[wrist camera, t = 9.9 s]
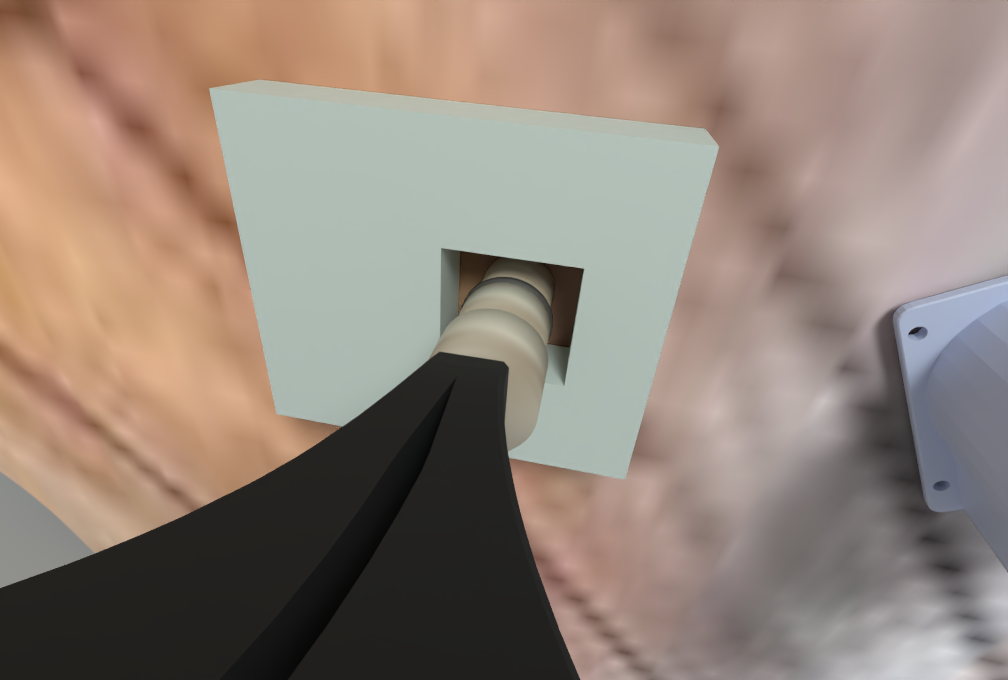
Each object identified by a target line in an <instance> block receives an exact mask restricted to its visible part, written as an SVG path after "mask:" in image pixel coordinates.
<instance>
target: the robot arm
mask: <svg viewBox="0 0 1008 680" xmlns="http://www.w3.org/2000/svg"><path fill="white" fill-rule="evenodd" d="M893 326H894V331H895V337H896V343H897V348H898V354H899V360H900V365H901V371H902V376H903V382H904V388H905V393H906V399H907V405H908V410H909V416H910V422H911V427H912V433H913V439H914V444H915V450H916V456H917V461H918V467H919V473H920V478H921V484H922V490H923V495H924V500H925V502H926V504H927V505H928V507H929V508H930V509H931V510H933V511H935V512H950V511H957V510H964V511H965V512H966V513H967V515H968V516H969V518H970V519H971V521H972V522H973V523H974V525H975V526H976V528H977V529H978V531H979V532H980V533H981V535H982V536H983V538H984V539H985V541H986V542H987V543H988V545H989V546H990V548H991V549H992V551H993V552H994V553H995V555H996V556H997V558H998V559H999V560H1000V562H1001V563H1002V565H1003V566H1004V568H1005V569H1006V570H1007V572H1008V275H1007V276H1003V277H1000V278H996V279H992V280H989V281H985V282H982V283H978V284H974V285H971V286H967V287H964V288H960V289H956V290H953V291H949V292H945V293H942V294H938V295H935V296H931V297H927V298H924V299H920V300H917V301H913V302H909V303H907V304H904V305H902V306H901V307H899V308H898V309H897V310H896V311H895V313H894V315H893ZM916 327H921V329H920V330H919V331H918V332H917V333H915V334H911V335H908V334H909V332H910V331H911V330H912V329H914V328H916ZM508 376H509V367H508V366H507V365H506V364H505V362H504V361H497V360H491V359H485V358H478V357H472V356H465V355H459V354H453V353H446V352H438V353H437V354H435V355H434V356H433V357H431V358H430V359H429V360H428V361H426V362H425V363H424V364H423V365H422V366H420V367H419V368H418V369H417V370H416V371H414V372H413V373H412V374H411V375H410V376H408V377H407V378H406V379H405V380H403V381H402V382H401V383H400V384H398V385H397V386H396V387H395V388H394V389H392V390H391V391H390V392H388V393H387V394H386V395H385V396H383V397H382V398H381V399H379V400H378V401H377V402H375V403H374V404H373V405H372V406H370V407H369V408H368V409H366V410H365V411H364V412H362V413H361V414H360V415H358V416H357V417H356V418H354V419H353V420H351V421H350V422H348V423H347V424H346V425H344V426H343V427H341V428H340V429H338V430H337V431H335V432H334V433H333V434H331V435H330V436H328V437H327V438H325V439H324V440H322V441H321V442H319V443H318V444H316V445H315V446H313V447H312V448H310V449H309V450H307V451H305V452H304V453H302V454H301V455H299V456H297V457H296V458H294V459H292V460H291V461H289V462H287V463H285V464H284V465H282V466H280V467H278V468H277V469H275V470H273V471H271V472H270V473H268V474H266V475H264V476H263V477H261V478H259V479H257V480H255V481H253V482H252V483H250V484H248V485H246V486H244V487H242V488H240V489H238V490H236V491H234V492H232V493H230V494H228V495H225V496H223V497H221V498H219V499H217V500H215V501H213V502H211V503H209V504H207V505H205V506H203V507H201V508H199V509H197V510H195V511H193V512H191V513H189V514H187V515H185V516H183V517H181V518H178V519H176V520H174V521H172V522H169V523H167V524H165V525H162V526H160V527H158V528H156V529H153V530H151V531H149V532H146V533H144V534H142V535H140V536H137V537H135V538H132V539H130V540H127V541H125V542H122V543H120V544H118V545H115V546H113V547H110V548H108V549H105V550H103V551H100V552H98V553H95V554H93V555H90V556H88V557H85V558H82V559H80V560H77V561H75V562H72V563H70V564H67V565H64V566H61V567H58V568H56V569H53V570H50V571H47V572H44V573H42V574H39V575H36V576H33V577H30V578H28V579H25V580H22V581H19V582H16V583H14V584H11V585H8V586H5V587H2V588H0V680H580V678H579V676H578V673H577V671H576V669H575V666H574V664H573V661H572V659H571V657H570V654H569V652H568V649H567V647H566V645H565V642H564V640H563V637H562V635H561V633H560V630H559V628H558V625H557V622H556V619H555V617H554V614H553V611H552V608H551V606H550V603H549V600H548V597H547V595H546V592H545V589H544V586H543V584H542V581H541V578H540V575H539V573H538V570H537V567H536V564H535V561H534V558H533V554H532V551H531V548H530V545H529V541H528V538H527V535H526V531H525V528H524V524H523V520H522V517H521V513H520V509H519V505H518V501H517V497H516V492H515V488H514V483H513V478H512V473H511V467H510V462H509V456H508V449H507V442H506V432H505V413H506V401H507V388H508ZM939 481H941V482H939ZM936 482H938V483H936Z"/></svg>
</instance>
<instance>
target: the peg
mask: <svg viewBox="0 0 1008 680" xmlns="http://www.w3.org/2000/svg"><path fill="white" fill-rule="evenodd" d="M553 296H554V281H553V278H552V275H551V273H550V272H549V270H548V269H547V267H546V266H545V265H544V264H543V263H542V262H535V261H528V260H521V259H514V258H507V257H500V258H498V259H497V260H495V261H494V262H493V263H492V264H491V265H490V266H489V268H488V270H487V271H486V273H485V275H484V277H483V279H482V281H481V283H479V284H478V285H476V286H475V287H474V288H473V289H472V290H471V291H470V292H469V294H468V295H467V297H466V299H465V300H464V303H463V305H462V308H461V311H460V313H459V315H458V317H456V318H455V319H454V320H453V321H451V322H450V324H449V325H448V326H447V327H446V329H445V330H444V332H443V334H442V336H441V338H440V339H439V341H438V343H437V345H436V347H435V348H434V350H433V352H432V354H431V356H430V358H431V357H433V356H434V355H435V354H437V353H438V352H446V353H453V354H459V355H465V356H472V357H478V358H485V359H491V360H497V361H504V362H505V364H506V365H507V366H508V367H509V376H508V388H507V401H506V413H505V432H506V442H507V449H508V451H510V450H512V449H514V448H516V447H518V446H520V445H521V444H522V443H524V442H525V441H526V440H527V439H528V438H529V437H530V435H531V434H532V432H533V431H534V429H535V426H536V424H537V419H538V414H539V409H540V404H541V399H542V394H543V389H544V384H545V379H546V374H547V369H548V353H547V349H546V348H547V344H548V341H549V339H550V336H551V332H552V327H553V314H552V310H551V304H552V300H553ZM430 358H429V359H430ZM429 359H428V360H429Z"/></svg>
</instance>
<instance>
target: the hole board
mask: <svg viewBox="0 0 1008 680" xmlns="http://www.w3.org/2000/svg"><path fill="white" fill-rule="evenodd" d="M209 90H210V95H211V100H212V104H213V109H214V114H215V119H216V124H217V128H218V133H219V138H220V143H221V148H222V153H223V157H224V162H225V167H226V172H227V177H228V182H229V186H230V191H231V196H232V201H233V206H234V211H235V215H236V220H237V225H238V230H239V235H240V240H241V244H242V249H243V254H244V259H245V264H246V268H247V273H248V278H249V283H250V288H251V293H252V297H253V302H254V307H255V312H256V317H257V322H258V326H259V331H260V336H261V341H262V346H263V351H264V355H265V360H266V365H267V370H268V375H269V380H270V384H271V389H272V394H273V399H274V404H275V408H276V413H277V414H279V415H284V416H290V417H295V418H300V419H306V420H311V421H316V422H321V423H327V424H332V425H337V426H344V425H346V424H347V423H348V422H350V421H351V420H353V419H354V418H356V417H357V416H358V415H360V414H361V413H362V412H364V411H365V410H366V409H368V408H369V407H370V406H372V405H373V404H374V403H375V402H377V401H378V400H379V399H381V398H382V397H383V396H385V395H386V394H387V393H388V392H390V391H391V390H392V389H394V388H395V387H396V386H397V385H398V384H400V383H401V382H402V381H403V380H405V379H406V378H407V377H408V376H410V375H411V374H412V373H413V372H414V371H416V370H417V369H418V368H419V367H420V366H422V365H423V364H424V363H425V362H426V361H428V359H429V358H430V356H431V354H432V352H433V350H434V348H435V347H436V345H437V343H438V341H439V339H440V338H441V336H442V334H443V332H444V330H445V329H446V327H447V326H448V325H449V324H450V322H451V321H453V320H454V319H455V318H456V317H458V311H459V279H460V251H465V252H472V253H479V254H486V255H493V256H500V257H507V258H514V259H521V260H528V261H535V262H542V263H549V264H556V265H562V266H569V267H576V268H583V273H582V279H581V285H580V291H579V297H578V303H577V308H576V314H575V320H574V326H573V332H572V338H571V344H570V348H569V347H563V346H557V345H550V344H547V348H546V349H547V353H548V369H547V374H546V379H545V384H544V389H543V394H542V399H541V404H540V409H539V414H538V419H537V424H536V426H535V429H534V431H533V432H532V434H531V435H530V437H529V438H528V439H527V440H526V441H525V442H524V443H522V444H521V445H520V446H518V447H516V448H514V449H512V450H510V451H508V456H509V458H513V459H518V460H523V461H529V462H534V463H539V464H545V465H550V466H555V467H561V468H566V469H571V470H577V471H582V472H587V473H592V474H598V475H603V476H608V477H614V478H619V479H624V480H625V477H626V474H627V470H628V467H629V463H630V460H631V456H632V452H633V449H634V445H635V442H636V438H637V435H638V431H639V428H640V424H641V421H642V417H643V414H644V410H645V407H646V403H647V399H648V396H649V392H650V389H651V385H652V382H653V378H654V375H655V371H656V368H657V364H658V361H659V357H660V354H661V350H662V346H663V343H664V339H665V336H666V332H667V329H668V325H669V322H670V318H671V315H672V311H673V308H674V304H675V301H676V297H677V293H678V290H679V286H680V283H681V279H682V276H683V272H684V269H685V265H686V262H687V258H688V255H689V251H690V248H691V244H692V240H693V237H694V233H695V230H696V226H697V223H698V219H699V216H700V212H701V209H702V205H703V202H704V198H705V195H706V191H707V187H708V184H709V180H710V177H711V173H712V170H713V166H714V163H715V159H716V156H717V152H718V149H719V146H718V145H717V143H716V142H715V141H714V139H713V138H712V137H711V136H710V134H709V133H708V132H707V130H706V129H703V128H694V127H685V126H676V125H667V124H658V123H649V122H640V121H630V120H621V119H612V118H603V117H594V116H585V115H576V114H567V113H558V112H549V111H540V110H531V109H522V108H513V107H504V106H494V105H485V104H476V103H467V102H458V101H449V100H440V99H431V98H422V97H413V96H404V95H395V94H386V93H377V92H368V91H359V90H349V89H340V88H331V87H322V86H313V85H304V84H295V83H286V82H277V81H268V80H255V81H249V82H244V83H238V84H232V85H227V86H221V87H215V88H210V89H209Z"/></svg>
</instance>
